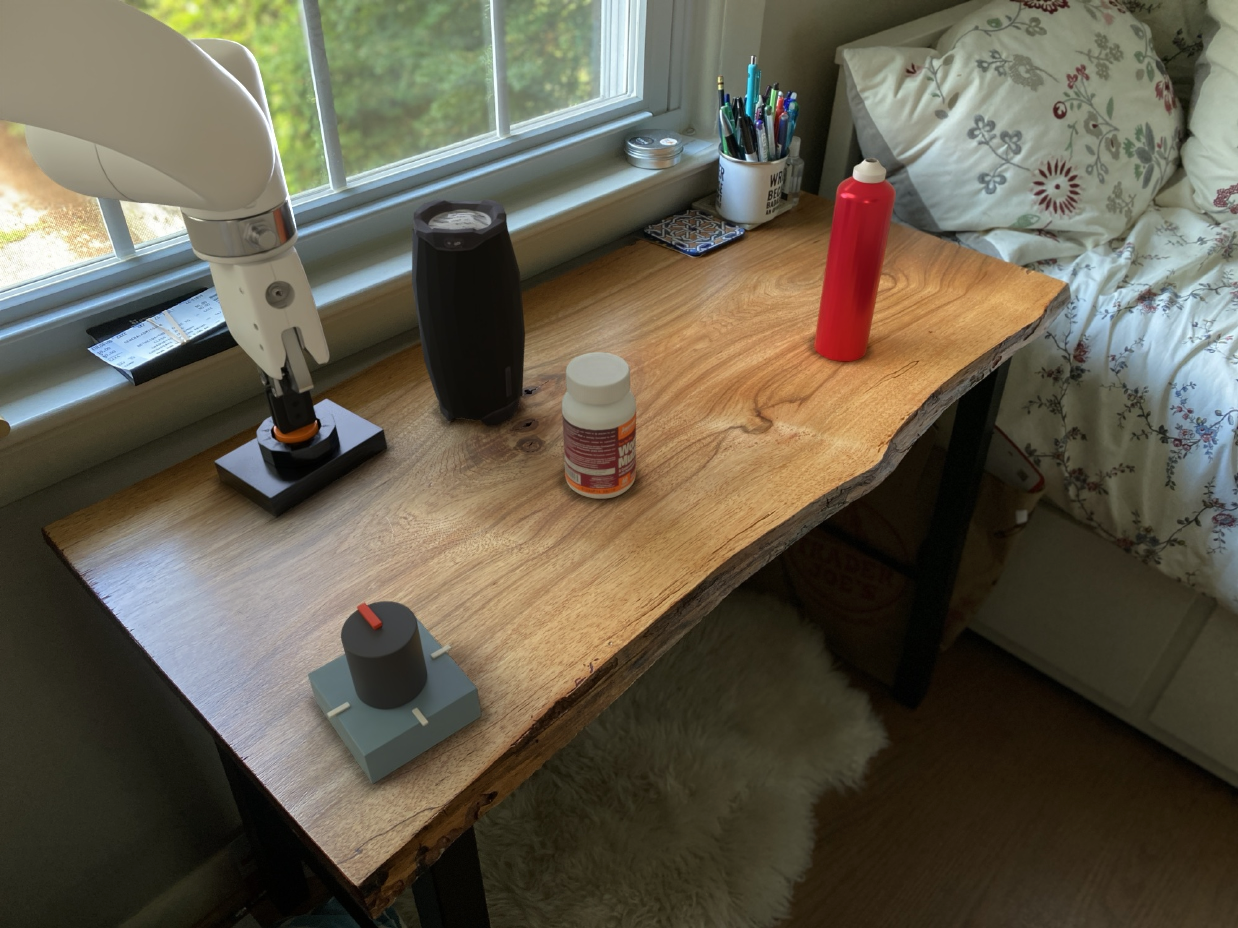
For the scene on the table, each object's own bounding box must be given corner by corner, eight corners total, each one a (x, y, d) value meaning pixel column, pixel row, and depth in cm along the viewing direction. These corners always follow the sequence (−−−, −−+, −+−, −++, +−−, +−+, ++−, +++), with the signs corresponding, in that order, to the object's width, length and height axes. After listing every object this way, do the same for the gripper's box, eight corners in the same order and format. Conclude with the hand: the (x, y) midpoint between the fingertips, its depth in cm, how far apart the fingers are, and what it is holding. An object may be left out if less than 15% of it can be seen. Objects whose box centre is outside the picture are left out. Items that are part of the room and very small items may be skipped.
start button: (295, 459, 79) (290, 442, 78) (269, 443, 81) (264, 427, 80) (329, 439, 81) (325, 423, 80) (303, 424, 83) (299, 408, 82)
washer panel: (369, 792, 57) (360, 762, 55) (308, 701, 63) (298, 671, 61) (490, 716, 62) (485, 686, 60) (423, 638, 67) (417, 607, 65)
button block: (276, 518, 77) (265, 481, 75) (220, 481, 81) (207, 444, 79) (387, 448, 85) (380, 412, 82) (331, 417, 88) (322, 382, 86)
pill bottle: (633, 503, 79) (634, 391, 72) (561, 500, 79) (555, 388, 72) (637, 458, 83) (638, 349, 76) (568, 455, 84) (564, 347, 77)
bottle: (803, 341, 99) (829, 155, 87) (844, 330, 101) (876, 146, 89) (834, 366, 95) (866, 175, 83) (877, 353, 97) (914, 165, 85)
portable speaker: (421, 396, 91) (389, 205, 79) (510, 372, 94) (493, 185, 82) (449, 443, 85) (420, 243, 73) (543, 416, 88) (530, 221, 76)
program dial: (440, 683, 60) (430, 628, 57) (376, 722, 58) (362, 666, 54) (404, 641, 63) (392, 586, 60) (342, 676, 60) (326, 621, 57)
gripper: (333, 243, 66) (376, 448, 78) (250, 181, 75) (300, 372, 87) (230, 275, 62) (291, 485, 74) (156, 205, 71) (220, 402, 83)
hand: (295, 423), depth 80 cm, fingers closed
